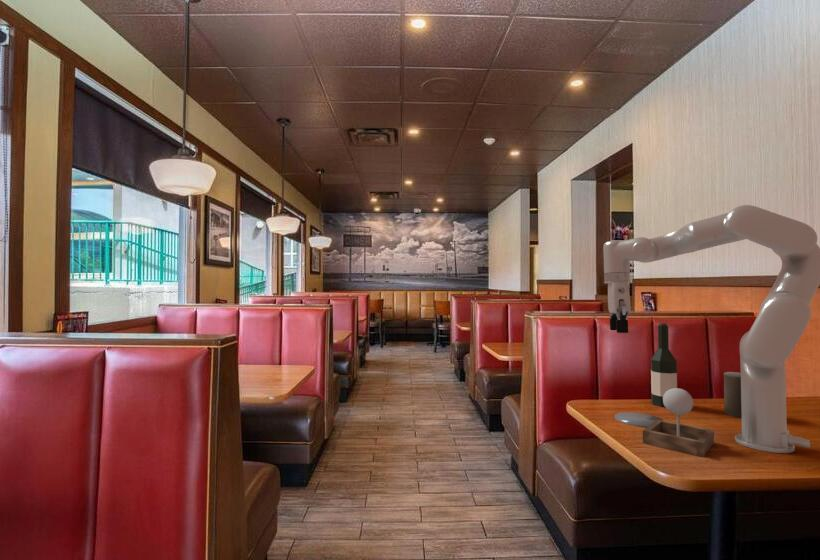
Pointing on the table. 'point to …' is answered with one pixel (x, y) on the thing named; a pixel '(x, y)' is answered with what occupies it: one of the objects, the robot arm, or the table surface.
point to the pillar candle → (732, 394)
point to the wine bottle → (662, 368)
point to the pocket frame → (679, 437)
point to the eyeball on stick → (678, 403)
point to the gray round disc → (636, 419)
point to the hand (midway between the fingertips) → (618, 331)
